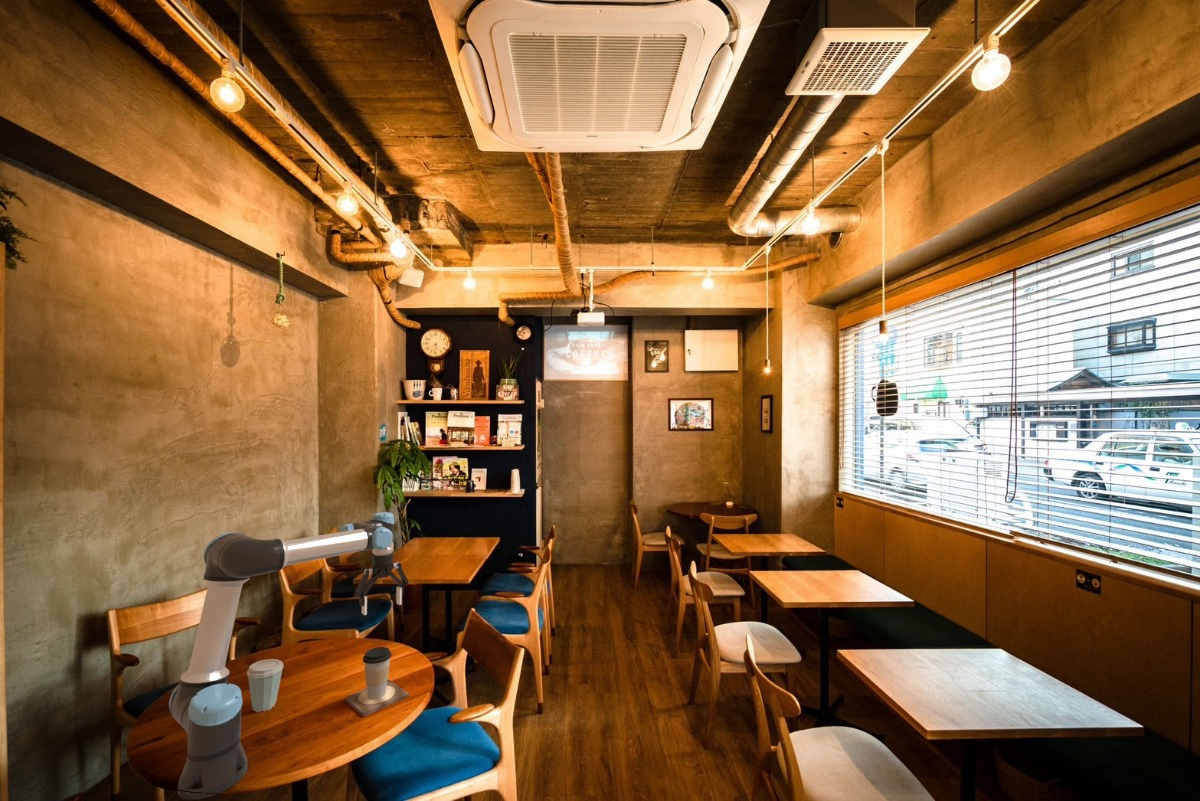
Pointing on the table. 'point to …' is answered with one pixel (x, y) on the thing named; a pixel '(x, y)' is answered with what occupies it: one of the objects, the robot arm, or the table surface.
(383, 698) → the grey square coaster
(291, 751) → the table surface
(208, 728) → the robot arm
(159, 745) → the table surface
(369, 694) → the coffee cup
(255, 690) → the disposable coffee cup
